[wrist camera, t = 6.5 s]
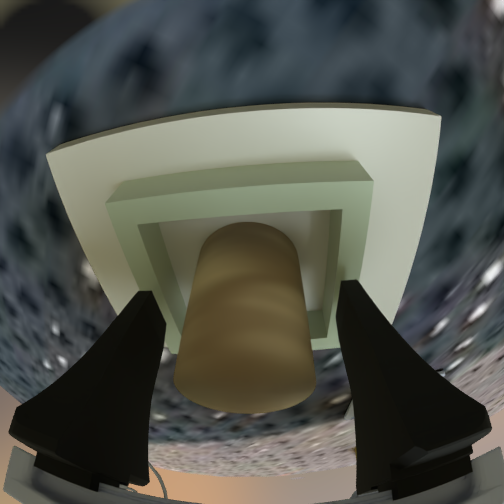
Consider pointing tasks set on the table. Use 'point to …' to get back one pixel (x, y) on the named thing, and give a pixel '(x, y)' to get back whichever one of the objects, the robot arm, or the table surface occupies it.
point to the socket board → (254, 199)
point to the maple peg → (246, 324)
